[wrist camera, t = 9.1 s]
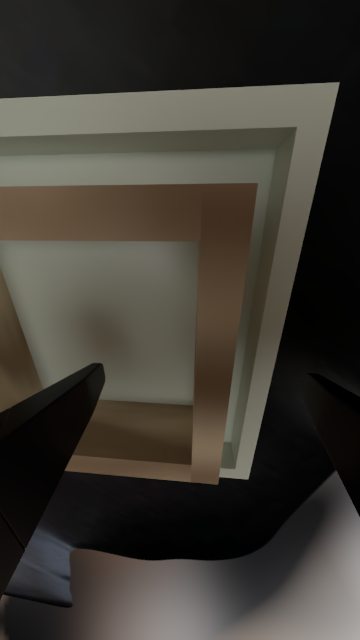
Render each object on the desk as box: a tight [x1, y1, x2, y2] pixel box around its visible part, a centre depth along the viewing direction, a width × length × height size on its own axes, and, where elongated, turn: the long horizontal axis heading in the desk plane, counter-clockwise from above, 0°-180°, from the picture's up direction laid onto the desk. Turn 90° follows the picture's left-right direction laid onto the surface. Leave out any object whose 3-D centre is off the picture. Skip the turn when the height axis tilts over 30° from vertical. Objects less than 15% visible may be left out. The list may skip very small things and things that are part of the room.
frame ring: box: [0, 183, 258, 484], centre depth 11 cm, size 14×14×4 cm
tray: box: [0, 82, 340, 479], centre depth 12 cm, size 20×20×2 cm
